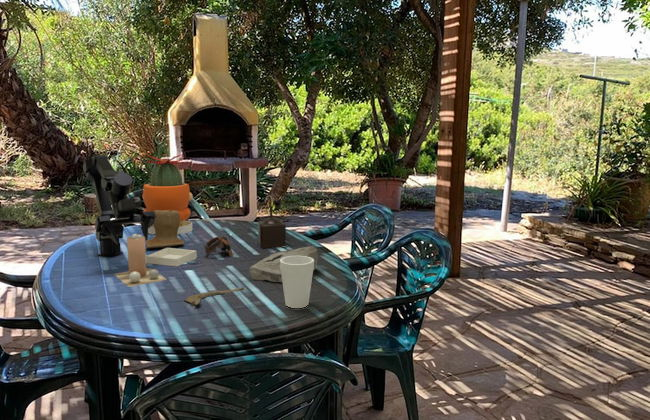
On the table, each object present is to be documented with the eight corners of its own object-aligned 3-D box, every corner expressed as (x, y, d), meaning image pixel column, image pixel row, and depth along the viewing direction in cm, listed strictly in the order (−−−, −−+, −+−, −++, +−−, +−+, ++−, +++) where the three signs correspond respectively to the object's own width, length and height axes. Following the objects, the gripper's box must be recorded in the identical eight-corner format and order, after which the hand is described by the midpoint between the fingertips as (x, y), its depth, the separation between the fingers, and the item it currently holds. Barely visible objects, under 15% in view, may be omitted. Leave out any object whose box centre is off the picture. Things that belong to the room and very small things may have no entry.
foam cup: (280, 299, 144) (280, 255, 141) (312, 298, 145) (312, 255, 142) (280, 311, 134) (280, 265, 132) (314, 311, 135) (314, 264, 133)
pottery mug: (231, 260, 185) (219, 242, 182) (210, 269, 188) (198, 252, 185) (238, 244, 196) (227, 227, 193) (218, 253, 198) (207, 236, 196)
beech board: (113, 275, 164) (113, 273, 164) (150, 269, 171) (150, 267, 171) (128, 288, 151) (128, 286, 151) (167, 281, 159) (167, 279, 159)
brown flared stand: (179, 241, 211) (178, 206, 209) (186, 247, 201) (185, 210, 198) (142, 244, 204) (140, 208, 202) (146, 251, 194) (144, 213, 191)
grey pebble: (147, 279, 159) (146, 270, 158) (153, 276, 161) (152, 267, 161) (155, 280, 158) (154, 271, 157) (160, 277, 161) (160, 268, 160)
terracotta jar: (125, 276, 161) (123, 235, 159) (136, 271, 166) (134, 232, 164) (139, 278, 160) (137, 237, 157) (150, 273, 165) (148, 233, 162)
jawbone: (173, 306, 140) (172, 299, 140) (223, 287, 158) (223, 281, 157) (196, 310, 135) (196, 302, 135) (245, 290, 153) (245, 283, 153)
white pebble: (126, 283, 155) (126, 272, 154) (134, 279, 158) (133, 269, 157) (136, 284, 154) (135, 273, 153) (143, 281, 157) (142, 270, 156)
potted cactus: (148, 227, 238) (144, 153, 231) (196, 226, 240) (193, 153, 234) (136, 237, 216) (132, 156, 210) (189, 236, 219) (186, 156, 213)
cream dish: (146, 264, 177) (145, 256, 176) (167, 255, 189) (167, 247, 188) (177, 267, 173) (176, 259, 173) (196, 258, 185) (196, 250, 184)
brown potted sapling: (287, 247, 203) (287, 203, 200) (260, 248, 200) (260, 204, 197) (281, 238, 218) (281, 197, 215) (256, 239, 215) (255, 198, 212)
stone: (298, 287, 155) (322, 269, 174) (298, 258, 153) (322, 243, 172) (246, 280, 162) (275, 263, 180) (246, 251, 160) (274, 237, 178)
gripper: (94, 191, 160) (105, 231, 153) (152, 187, 171) (165, 224, 164) (90, 212, 167) (101, 251, 161) (146, 207, 179) (158, 243, 172)
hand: (132, 241), depth 164 cm, fingers open, 9 cm apart
